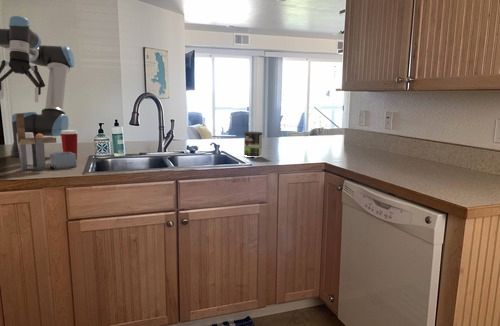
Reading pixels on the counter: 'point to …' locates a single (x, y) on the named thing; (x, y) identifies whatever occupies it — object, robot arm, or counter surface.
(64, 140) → the coffee cup
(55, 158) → the grey rounded block
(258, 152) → the coffee can
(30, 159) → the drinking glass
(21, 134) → the lever
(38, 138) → the ball
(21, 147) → the post
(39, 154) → the pivot stand
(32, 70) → the robot arm
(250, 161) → the counter surface
